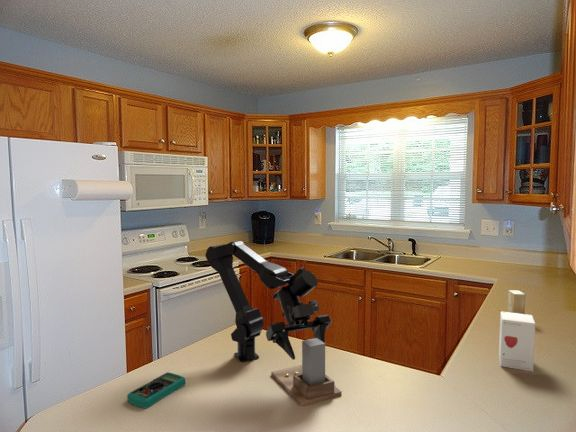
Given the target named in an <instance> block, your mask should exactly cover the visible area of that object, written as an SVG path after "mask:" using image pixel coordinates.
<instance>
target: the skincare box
mask: <svg viewBox="0 0 576 432" xmlns="http://www.w3.org/2000/svg"><path fill="white" fill-rule="evenodd" d="M526 297H527V295H526V294H525V293H524V292H522V291H521V290H518V289H517V290H516V289H513V290H511V289H508V296H507V298H508V299H507V312H510V313H519V314H526V313H525V312H526Z"/></svg>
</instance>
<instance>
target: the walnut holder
mask: <svg viewBox="0 0 576 432" xmlns="http://www.w3.org/2000/svg"><path fill="white" fill-rule="evenodd" d="M270 373H271V374H270V375H271V377H273V379H275V381H276V382H278V384H280V386H281V387H282V388H284V390H285V391H286V392H287V393H288V394H289V395H290V396H291V397H292V398H293V399H294V400H295V401H296V402H297V404H299V405H300V406H301V407H304V406H307V405H311V404H314V403H318V402H322V401H326V400H329V399H332V398H336V397H340V396H342V392H343V391H341V390H340V389H339V388H338V387H337V386H335V381H334V380H333V379H332V378H331V377H329V376H328V375H327V374H326V373H325V382H324V383H320V384H316V385H312V386H308V385H307V384H306V383H305V382H303V381H302V364H299V365H296V366H291V367H286V368H282V369H277V370H273V371H271V372H270Z"/></svg>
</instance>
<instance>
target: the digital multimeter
mask: <svg viewBox="0 0 576 432" xmlns="http://www.w3.org/2000/svg"><path fill="white" fill-rule="evenodd" d="M184 386H186V378H185V377H184V376H182V375H180V374H176V373H173V372H169V371H168V372H167V371H166V372H164V373H163V374H162V375H160V376H157V377H156V378H155V379H154V378H153V380H151V381H149V382H147V383H145V384H143V385H141V386H139V387H137V388H135V389H134V390H132V391H130V392H129V393H128V394H127V402H128V403H129V404H131V405H132V406H134V407H137V408H142V409H143V408H144V409H147V408H148V409H149V407H151V406H153V405H154V404H156V403H157V402H159V401H160V400H162V399H164V398H165V397H167V396H169V395H171V394H172V393H174V392H176V391H177V390H179V389H181V388H182V387H184Z"/></svg>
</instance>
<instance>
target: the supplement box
mask: <svg viewBox="0 0 576 432" xmlns="http://www.w3.org/2000/svg"><path fill="white" fill-rule="evenodd" d="M499 318H500V323H499V339H498V340H499V342H498V359H499V366H500V367H504V368H510V369H516V370H522V371H527V372H531V373H532V372H534V363H535V361H534V359H535V357H534V356H535V343H536V341H535V340H536V338H535V337H536V322H535V320H534V316H533V314H527V313H525V314H519V313H510V312H508V311H500V317H499Z"/></svg>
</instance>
